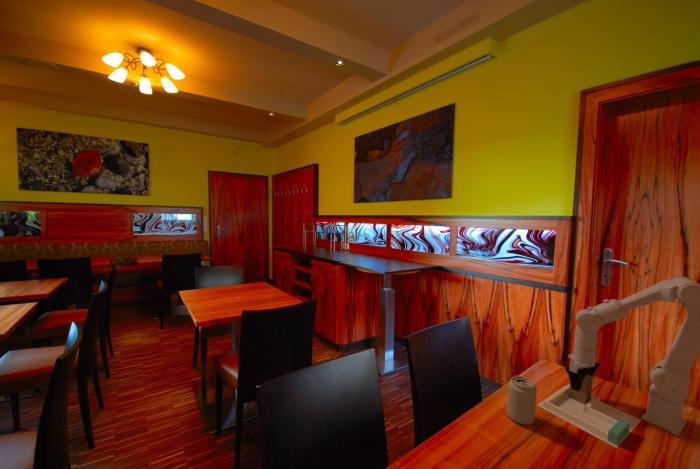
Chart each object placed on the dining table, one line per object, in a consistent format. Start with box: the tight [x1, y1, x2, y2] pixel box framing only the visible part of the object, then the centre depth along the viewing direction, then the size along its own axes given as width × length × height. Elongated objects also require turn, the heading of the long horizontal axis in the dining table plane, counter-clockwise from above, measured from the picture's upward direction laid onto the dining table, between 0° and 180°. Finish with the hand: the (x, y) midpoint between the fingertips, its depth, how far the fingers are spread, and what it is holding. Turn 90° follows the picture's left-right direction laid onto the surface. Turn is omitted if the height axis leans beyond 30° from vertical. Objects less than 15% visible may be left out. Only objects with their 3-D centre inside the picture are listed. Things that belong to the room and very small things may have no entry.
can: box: [506, 375, 538, 426], centre depth 94 cm, size 8×8×12 cm
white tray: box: [536, 383, 642, 449], centre depth 97 cm, size 20×20×4 cm
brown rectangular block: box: [569, 375, 594, 405], centre depth 103 cm, size 4×4×8 cm
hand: (580, 386), depth 103 cm, fingers open, 7 cm apart
